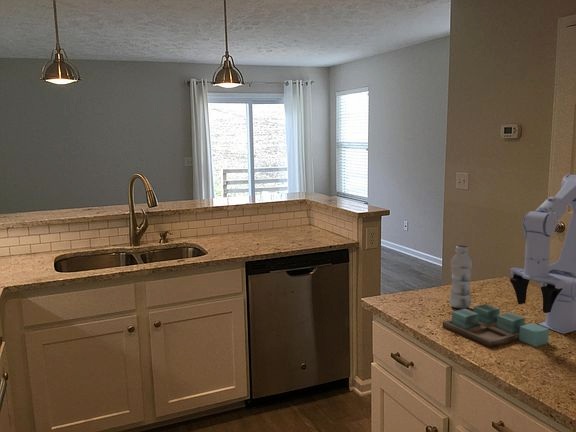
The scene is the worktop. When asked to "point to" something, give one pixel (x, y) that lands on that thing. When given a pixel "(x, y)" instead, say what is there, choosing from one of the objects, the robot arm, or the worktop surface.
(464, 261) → the plastic bottle
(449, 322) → the puzzle tray
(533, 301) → the worktop surface
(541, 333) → the teal block
